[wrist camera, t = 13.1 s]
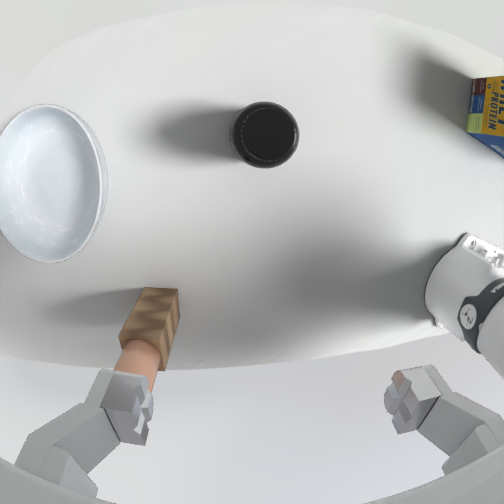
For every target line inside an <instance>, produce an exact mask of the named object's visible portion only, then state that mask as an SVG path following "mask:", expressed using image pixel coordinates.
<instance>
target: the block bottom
mask: <svg viewBox="0 0 504 504" xmlns="http://www.w3.org/2000/svg"><path fill="white" fill-rule="evenodd" d="M138 301H150V302H166V303H172V304H173V315H174V325H175V332H176V329H177V325H178V322H179V319H180V314H179V302H178V289H169V288H151V287H145V288H144V290H143V292H142V293H141V295H140V297H139V299H138Z"/></svg>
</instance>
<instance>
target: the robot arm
mask: <svg viewBox="0 0 504 504" xmlns="http://www.w3.org/2000/svg"><path fill="white" fill-rule="evenodd" d="M425 302H426V306H427V309H428V310H429V312H430V313H431V314H432V315H433V316H434V317H435V322H436V325H437V326H438V327H439V328H446V329H447V330H449V331H450V332H451V333H452V334H453V335H454V336H455V337H457V338H458V339H459V340H460V341H462V342H464V341H467V343H468V344H469V346H470V347H471V348H472V349H474V350H475V351H476V352H477V353H479V354H482V355H483V356H484V357H485V358H486V360H487V361H488V362H489V363H490V364H491V365H492V366H493V368H494V369H495V370H496V371H497V372H498V373H499V375H500V376H501V377H502V378H503V379H504V250H503V249H501V248H499V247H497V246H495V245H493V244H491V243H489V242H487V241H484V240H482V239H480V238H478V237H476V236H474V235H471V234H469V233H467V234H465V235H464V236H463V237H462V239H461V240H460V241H459V243H458V244H457V246H456V247H454V248H453V249H452V250H450V251H449V252H448V253H447V254H445V255H444V256H443V257H442V259H441V260H440V261H439V262H438V263H437V265H436V266H435V268H434V270H433V271H432V273H431V275H430V278H429V280H428V283H427V287H426V292H425ZM392 381H393V383H392V384H391V385H390V386H388V388H387V389H386V392H385V394H384V403H385V408H386V410H387V412H389V413H390V414H392V415H393V418H392V423H393V425H394V427H395V429H396V431H397V433H398V434H402V433H406V432H410V431H414V430H417V431H418V432H419V433H420V434H422V435H423V436H424V437H425V438H427V439H428V440H429V441H431V442H432V443H433V444H434V445H436V446H437V447H438V448H439V449H441V450H442V451H443V452H445V453H446V454H447V455H448V456H450V458H449V459H448V460H447V461H446V462H445V463H444V464H443V466H442V470H443V471H444V474H445V476H443V477H440V478H438V479H436V480H434V481H431V482H429V483H426V484H424V485H421V486H418V487H416V488H413V489H410V490H408V491H405V492H402V493H399V494H395V495H392V496H389V497H386V498H382V499H379V500H375V501H372V502H368V503H364V504H504V420H503V419H502V417H501V416H500V415H499V414H497V413H495V412H493V411H491V410H490V409H488V408H486V407H484V406H482V405H480V404H478V403H476V402H474V401H472V400H470V399H469V398H467V397H465V396H463V395H461V394H459V393H457V392H452V390H451V389H450V388H449V386H448V385H447V383H446V382H445V381H444V379H443V378H442V376H441V375H440V373H439V372H438V371H437V369H436V368H435V367H434V366H433V365H431V364H430V365H425V366H420V367H415V368H409V369H404V370H398V371H396V372H395V373H394V374H393V376H392ZM148 386H149V381H148V377H147V376H145V375H139V374H133V373H126V372H121V371H114V370H108V369H102V370H100V371H99V373H98V375H97V377H96V379H95V381H94V383H93V385H92V388H91V390H90V392H89V394H88V397H87V398H86V401H85V403H84V404H82V403H80V404H78V405H76V406H74V407H73V408H71V409H70V410H68V411H66V412H65V413H63V414H62V415H60V416H58V417H57V418H55V419H54V420H52V421H50V422H49V423H47V424H45V425H44V426H42V427H40V428H39V429H37V430H35V431H34V432H32V433H31V434H29V435H28V437H27V439H26V441H25V443H24V445H23V447H22V449H21V451H20V453H19V456H18V458H17V460H16V462H15V464H14V465H13V464H11V463H9V462H8V461H6V460H4V459H2V458H0V504H116V503H112V502H108V501H104V500H100V499H97V498H96V495H97V490H98V488H97V486H96V485H95V483H93V481H92V480H91V479H90V478H89V477H88V476H87V474H88V473H89V472H90V471H91V470H92V469H93V468H94V467H95V466H96V465H98V464H99V463H100V462H101V461H102V460H103V459H104V458H105V457H106V456H107V455H108V454H109V453H110V452H112V451H113V450H114V449H115V448H116V447H117V446H118V445H119V444H120V442H124V443H130V444H136V445H143V446H145V443H146V440H147V435H148V431H149V429H148V426H147V422H148V421H150V420H151V418H152V414H153V396H152V393H151V392H150V391H149V390H148Z"/></svg>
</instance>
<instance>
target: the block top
mask: <svg viewBox="0 0 504 504" xmlns="http://www.w3.org/2000/svg"><path fill="white" fill-rule="evenodd" d="M133 339H141V340H145V341H147V342H149V343H151V344H153V345H154V346H155V347H156V348H157V349H158V351H159V352H160V355H161V361H160V364H159V368H158V371H165V369H166V365H167V361H168V357H169V354H170V345H169V337H168V330H167V321H166V320H164V319H150V318H138V317H128V318H127V320H126V322H125V324H124V326H123V328H122V330H121V332H120V334H119V340H120V344H121V348H122V350H123V348H124V346H125V344H126V343H127V342H128V341H130V340H133Z"/></svg>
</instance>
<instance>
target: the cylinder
mask: <svg viewBox="0 0 504 504" xmlns="http://www.w3.org/2000/svg"><path fill="white" fill-rule="evenodd" d="M160 361H161V355H160V352H159V351H158V349H157V348H156V347H155V346H154V345H153V344H151V343H149V342H147V341H145V340H141V339H133V340H130V341H128V342H127V343H126V344H125V346H124V348H123V350H122V353H121V355H120V357H119V359H118V361H117V364H116V366H115V368H114V371H121V372H126V373H133V374H139V375H145V376H147V377H148V381H149V386H148V390H149V391H150V392H151V393H152V389H153V385H154V382H155V378H156V375H157V371H158V368H159V364H160Z"/></svg>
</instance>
